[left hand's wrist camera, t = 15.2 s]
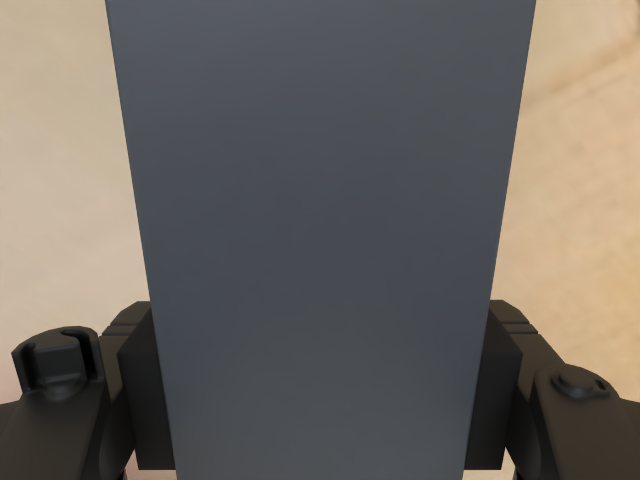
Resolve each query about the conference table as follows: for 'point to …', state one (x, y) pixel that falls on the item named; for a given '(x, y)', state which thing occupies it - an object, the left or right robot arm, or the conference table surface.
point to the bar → (320, 223)
